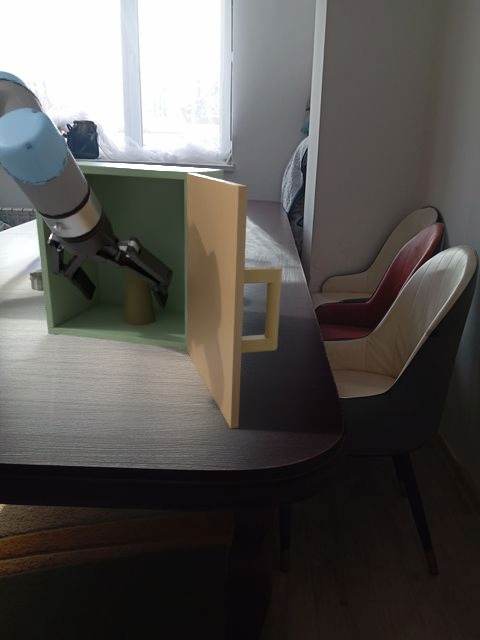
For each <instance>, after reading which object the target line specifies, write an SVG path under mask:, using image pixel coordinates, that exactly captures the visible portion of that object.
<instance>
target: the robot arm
mask: <svg viewBox="0 0 480 640" xmlns="http://www.w3.org/2000/svg"><path fill="white" fill-rule="evenodd" d="M76 162H77V161H76V159H75V157H74V155H73V154H72V152H71V150H70V148H69V145H68V143H67V141H66V139H65V136H64V135H63V134H62V133H61V131H60V129H59V128H58V126H56V125H55V123H54V121H53V120H52V118H51V117H50V116H49V115H48V114H47V113H46V112H45V110H44V108H43V105H42V103H41V102H40V99H39V98H38V96H37V95H36V93H34V92H33V91H32V90H31V88H30V87H29V86H28V85H27V84H26V82H24V81H23V79H21V78H20V77H18V76H17V75H15V74H13V73H11V72H8V71H3V70H0V165H1V166H2V168H3V169H4V171H5V172H6V173H7V175H9V176H10V177H11V179H13V181H14V182H15V184H16V185H17V186H18V187H19V189H20V190H21V191H22V193H23V194H24V196H26V198H27V199H28V201H30V203H31V204H32V205H33V206H34V210H35V209H36V210H37V211H38V213H39V214H40V215H41V217H42V218H43V219H44V221H45V222H46V223H47V225H48V226H49V228H50V229H51V230H52V232H51V235H50V237H49V240H48V242H47V246H48V247H49V249H50V251H51V273H52V274H54V275H59V273H60V274H63V276H64V277H65V278H68V279H69V280H70V281H71V282H72V284H73V285H75V286H77V287H78V288H79V290H80V291H81V292H82V293H83V295H84V296H85V297H86V298H87V300H92V297H93V294H94V291H95V288H96V286H95V285H94V284H93V282H92V281H91V280H90V278H89V277H88V276H87V274H86V273H85V271H84V270H83V269H82V267H81V266H80V265H82V263H83V262H84V261H85V260H89V261H91V262H102V263H107V264H110V265H112V266H113V267H115V268H117V269H119V268H123V269H125V270H126V271H128V272H130V273H132V274H134V275H135V276H137V277H139V278H141V279H143V280H144V281H146V282H148V283H150V284H151V285H150V289H151V291H152V292H153V294H154V296H155V298H156V300H157V301H158V303H159V305H160V307H162V308H165V306H166V302H167V298H168V295H169V294H168V292H167V289H168V286H169V285H170V282H171V279H172V275H173V271H172V270H171V269H170V268H169V267H168V266H166V265H165V264H164V263H163V262H162V261H160V260H159V259H158V258H157V257H156V256H154V255H153V254H152V253H151V252H149V251H148V250H147V249H146V248H145V247H143V246H142V244H141V243H140V241H139V240H138V239H137V238H136V237H134V236H131V237H130V239H129V241H120V239H118V238H117V237H116V236H115V235H114V233H113V229H112V225H111V223H110V221H109V219H108V217H107V215H106V214H105V212H104V210H103V208H102V207H101V205H100V202H99V201H98V199H97V197H96V196H95V194H94V192H93V190H92V189H91V187H90V185H89V184H88V182H87V181H86V179H85V178H84V176H83V174H82V172H81V170H80V168H79V166H78V164H77V163H76ZM64 248H65V249H66V250H67V251H68V252H70V253H72V254H74V255H73V256H72V258H71V259H69V262H68V264H64ZM119 251H120V255H119V258H118V261H117V260H115V258H116V256H117V255H118V253H119Z"/></svg>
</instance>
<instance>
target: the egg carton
mask: <svg viewBox="0 0 480 640" xmlns="http://www.w3.org/2000/svg"><path fill="white" fill-rule="evenodd" d="M29 280H30V285H31V289H32V290H36V291H41V290H42V291H43V290H44V289H43V279H42V270H41V268H38V269H36V270H33V272H29Z"/></svg>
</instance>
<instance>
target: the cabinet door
mask: <svg viewBox="0 0 480 640" xmlns="http://www.w3.org/2000/svg"><path fill="white" fill-rule="evenodd" d="M248 187H249V186H248V185H244V184H240V183H237V182H233V181H228V180H224V179H223V180H220V179H216V178H212V177H207V176H203V175H199V174H195V173H187V349H186V350H187V354H188V355H189V357H190V359H191V361H192V362H193V364H194V366H195V368H196V370H197V371H198V373H199V375H200V377H201V378H202V380H203V382H204V384H205V386H206V387H207V389H208V391H209V392H210V395H211V396H212V398H213V399H214V401H215V403H216V405H217V407H218V408H219V410H220V412H221V414H222V416H223V417H224V419H225V421H226V424H228V427H229V428H230V429H238V428H239V427H240V426H239V425H240V424H239V423H240V400H241V399H240V397H241V372H242V354H246V353H260V352H272V351H273V352H274V351H276V350H277V349H278V342H279V341H278V339H279V325H280V311H281V310H280V308H281V294H282V293H281V292H282V280H283V279H282V277H283V268H282V267H280V266H277V265H275V266H272V265H271V266H246V264H245V263H246V242H247V241H246V238H247V215H248V214H247V213H248V190H249V189H248ZM246 284H247V285H249V284H251V285H252V284H267V285H266V302H265V303H266V304H265V320H264V321H265V322H264V334H254V335H243V321H244V295H245V294H244V293H245V285H246Z"/></svg>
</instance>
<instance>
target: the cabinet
mask: <svg viewBox="0 0 480 640" xmlns="http://www.w3.org/2000/svg"><path fill="white" fill-rule="evenodd" d="M76 163H77V164H78V166H79V168H80V170H81V172H82V174H83V176H84V178H85V179H86V181H87V182H88V184H89V185H90V187H91V189H92V190H93V192H94V194H95V196H96V197H97V199H98V201H99V202H100V205H101V207H102V208H103V210H104V212H105V214H106V215H107V217H108V219H109V221H110V223H111V225H112V229H113V233H114V235H115V236H116V237H117V238H118V239H120V241H129V239H130V237H131V236H134V237H136V238H137V239H138V240H139V241H140V243H141V244H142V246H143V247H145V248H146V249H147V250H148V251H149V252H151V253H152V254H153V255H154V256H156V257H157V258H158V259H159V260H160V261H162V262H163V263H164V264H165V265H166V266H168V267H169V268H170V269H171V270H172V271H173V275H172V279H171V282H170V285H169V286H168V289H167V292H168V294H169V295H168V298H167V302H166V306H165V308H162V307H160V305H159V303H158V301H157V300H156V298H155V296H154V294H153V292H152V291H151V293H152V300H153V306H154V312H155V318H156V321H155V322H153V323H151V324H147V325H130V324H126V323H124V322H123V312H124V301H125V290H126V279H125V278H124V275H123V268H119V269H117V268H115V267H113V266H112V265H110V264H107V263H102V262H91V261H89V260H85V261H84V262H83V263H82V265H80V266H81V267H82V269H83V270H84V271H85V273H86V274H87V276H88V277H89V278H90V280H91V281H92V282H93V284H94V285H95V286H96V288H95V291H94V294H93V297H92V300H87V298H86V297H85V296H84V295H83V293H82V292H81V291H80V290H79V288H78V287H77V286H75V285H73V284H72V282H71V281H70V280H69V279H68V278H65V277H64V276H63V274H60V273H59V275H54V274H52V273H51V251H50V249H49V247H48V246H47V242H48V240H49V237H50V235H51V232H52V230H51V229H50V228H49V226H48V225H47V223H46V222H45V221H44V219H43V218H42V217H41V215H40V214H39V213H38V211H37V210H36V209H35V208H34V212H35V220H36V231H37V240H38V250H39V259H40V260H39V261H40V269H41V270H42V279H43V289H42V290H43V297H44V307H45V317H46V326H47V327H46V328H47V334H51V335H60V336H61V335H62V336H71V337H77V338H79V337H80V338H87V339H88V338H89V339H96V340H104V341H112V342H122V343H129V344H138V345H147V346H154V347H163V348H173V349H180V350H187V173H195V174H199V175H203V176H207V177H212V178H216V179H220V180H224V169H217V168H199V167H185V166H184V167H182V166H169V165H168V166H167V165H166V166H165V165H152V164H151V165H150V164H134V163H133V164H132V163H118V162H103V161H102V162H101V161H76ZM73 255H74V254H72V253H70V252H68V251H67V250H66V249H65V248H64V264H68V262H69V259H71V258H72V256H73ZM119 255H120V251H119V253H118V255H117V256H116V258H115V260H117V261H118V258H119ZM150 285H151V284H150Z"/></svg>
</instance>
